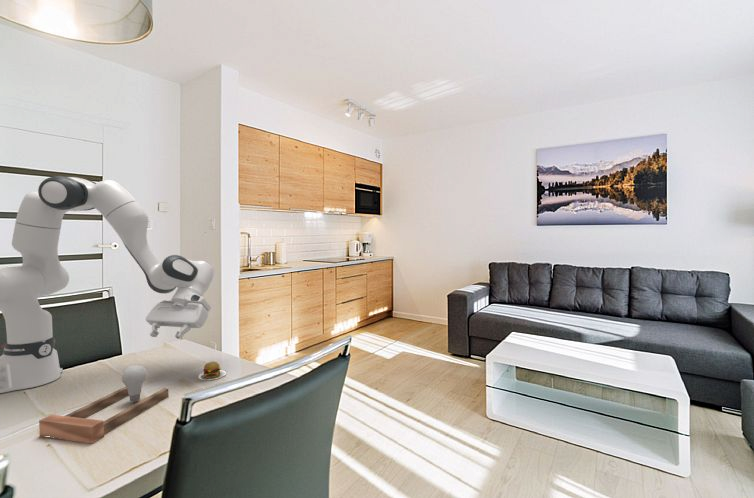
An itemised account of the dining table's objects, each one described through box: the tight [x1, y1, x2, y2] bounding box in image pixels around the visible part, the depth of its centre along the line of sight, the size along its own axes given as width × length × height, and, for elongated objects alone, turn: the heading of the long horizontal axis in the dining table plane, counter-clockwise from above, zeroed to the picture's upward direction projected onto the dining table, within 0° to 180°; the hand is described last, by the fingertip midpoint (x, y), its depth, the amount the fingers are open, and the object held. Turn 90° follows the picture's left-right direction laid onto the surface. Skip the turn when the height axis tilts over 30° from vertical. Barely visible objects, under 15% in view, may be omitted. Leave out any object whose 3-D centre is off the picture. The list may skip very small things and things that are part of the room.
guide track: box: [38, 386, 169, 444], centre depth 100 cm, size 25×16×4 cm, turn 169°
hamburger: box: [197, 361, 227, 381], centre depth 128 cm, size 12×12×6 cm
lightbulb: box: [121, 364, 147, 403], centre depth 108 cm, size 6×6×11 cm
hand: (165, 337), depth 119 cm, fingers open, 8 cm apart
